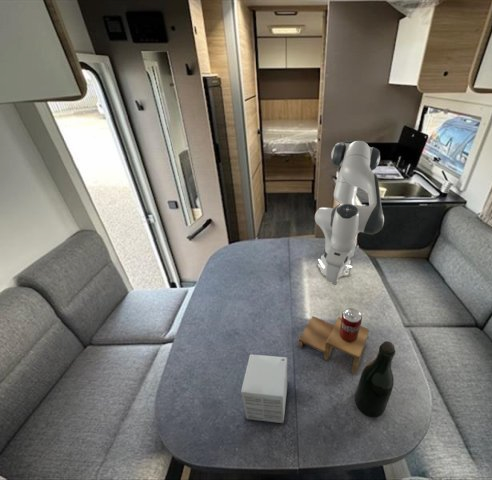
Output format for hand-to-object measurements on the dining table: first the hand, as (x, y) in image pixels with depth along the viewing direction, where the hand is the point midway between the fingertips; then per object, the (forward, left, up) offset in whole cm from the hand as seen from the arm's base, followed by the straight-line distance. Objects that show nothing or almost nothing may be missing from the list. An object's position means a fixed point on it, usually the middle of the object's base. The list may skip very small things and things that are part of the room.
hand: (338, 276), depth 103 cm
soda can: (+9, +9, -21) cm, 24 cm away
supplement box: (+41, -9, -32) cm, 52 cm away
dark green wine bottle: (+24, +23, -32) cm, 46 cm away
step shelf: (+9, +3, -31) cm, 33 cm away
